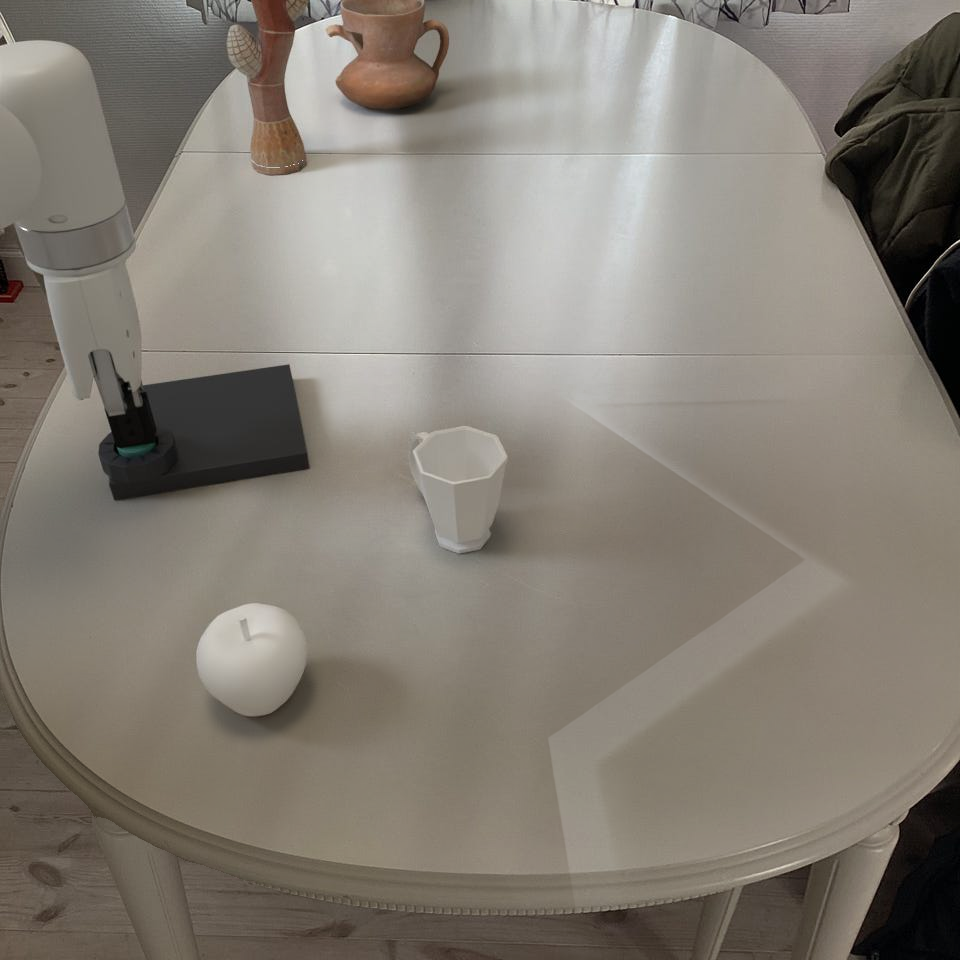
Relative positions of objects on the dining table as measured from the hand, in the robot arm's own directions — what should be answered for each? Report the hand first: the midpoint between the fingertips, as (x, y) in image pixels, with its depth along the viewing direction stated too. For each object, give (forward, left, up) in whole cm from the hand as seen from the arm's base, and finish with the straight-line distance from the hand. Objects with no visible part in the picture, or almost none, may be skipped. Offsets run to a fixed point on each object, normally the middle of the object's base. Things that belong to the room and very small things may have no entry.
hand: (137, 439), depth 83 cm
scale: (+5, +4, -4) cm, 8 cm away
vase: (+18, +63, -4) cm, 66 cm away
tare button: (0, 0, -2) cm, 2 cm away
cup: (+23, -13, -4) cm, 27 cm away
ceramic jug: (+36, +83, -4) cm, 91 cm away
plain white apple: (+7, -26, -4) cm, 27 cm away
